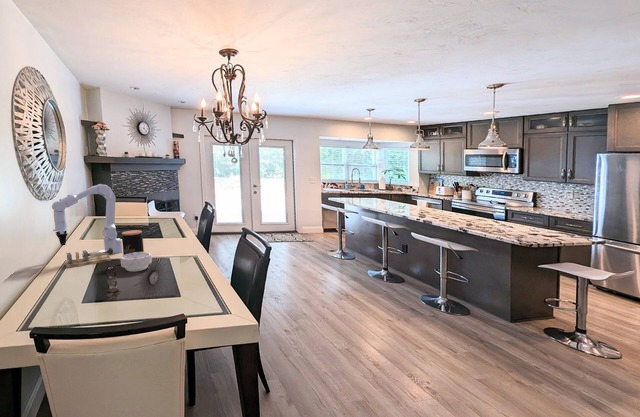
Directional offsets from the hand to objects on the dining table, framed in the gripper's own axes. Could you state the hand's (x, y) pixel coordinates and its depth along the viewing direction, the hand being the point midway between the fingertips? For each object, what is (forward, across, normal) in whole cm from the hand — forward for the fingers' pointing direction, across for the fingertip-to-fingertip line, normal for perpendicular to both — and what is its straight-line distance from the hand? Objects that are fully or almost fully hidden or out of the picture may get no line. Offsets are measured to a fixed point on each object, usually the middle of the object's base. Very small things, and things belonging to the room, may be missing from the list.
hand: (62, 244), depth 234 cm
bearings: (+8, +14, +6) cm, 18 cm away
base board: (+10, +14, +11) cm, 20 cm away
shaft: (+8, +14, +16) cm, 22 cm away
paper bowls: (+10, +48, +31) cm, 58 cm away
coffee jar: (+10, +32, +32) cm, 47 cm away
